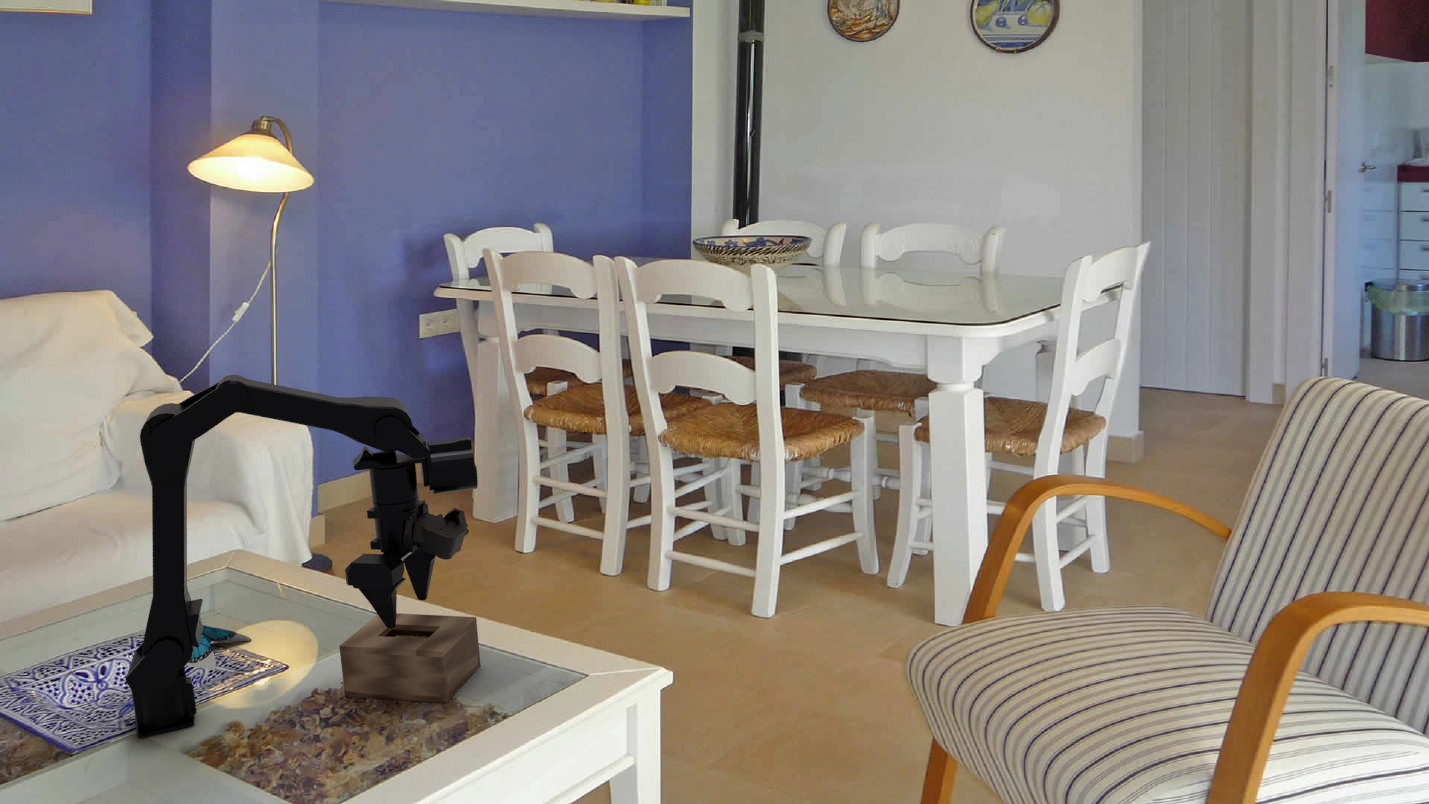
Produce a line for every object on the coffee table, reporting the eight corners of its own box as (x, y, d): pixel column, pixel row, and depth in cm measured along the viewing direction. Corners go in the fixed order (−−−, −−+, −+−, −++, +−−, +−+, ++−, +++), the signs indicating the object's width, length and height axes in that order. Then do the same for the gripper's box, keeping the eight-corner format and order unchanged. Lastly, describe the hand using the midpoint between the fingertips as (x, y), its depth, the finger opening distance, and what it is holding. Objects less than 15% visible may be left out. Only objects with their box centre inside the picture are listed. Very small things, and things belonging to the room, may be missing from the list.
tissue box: (345, 696, 161) (339, 646, 159) (384, 660, 171) (379, 612, 170) (446, 703, 158) (441, 651, 156) (480, 665, 168) (476, 617, 167)
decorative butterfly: (178, 614, 181) (238, 599, 179) (194, 655, 182) (254, 641, 180) (136, 643, 171) (198, 628, 169) (153, 686, 173) (215, 671, 170)
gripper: (422, 523, 148) (434, 646, 152) (483, 478, 166) (492, 589, 169) (336, 520, 151) (350, 641, 154) (405, 476, 168) (416, 586, 172)
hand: (407, 613), depth 162 cm, fingers open, 9 cm apart
